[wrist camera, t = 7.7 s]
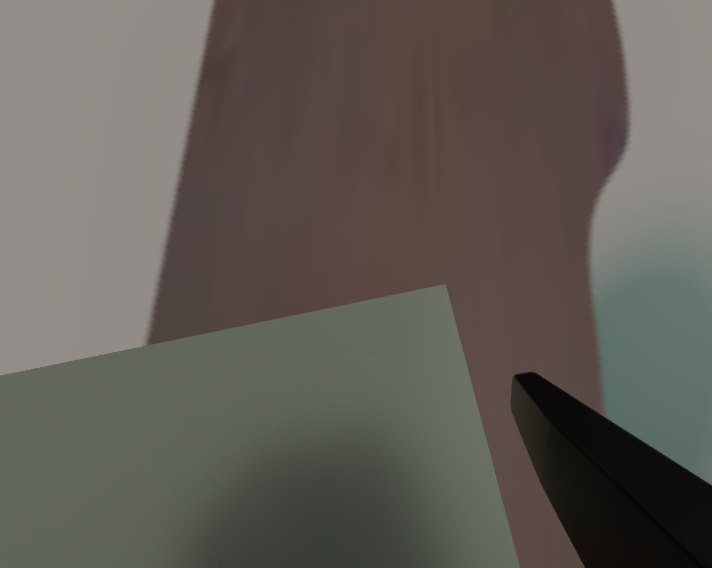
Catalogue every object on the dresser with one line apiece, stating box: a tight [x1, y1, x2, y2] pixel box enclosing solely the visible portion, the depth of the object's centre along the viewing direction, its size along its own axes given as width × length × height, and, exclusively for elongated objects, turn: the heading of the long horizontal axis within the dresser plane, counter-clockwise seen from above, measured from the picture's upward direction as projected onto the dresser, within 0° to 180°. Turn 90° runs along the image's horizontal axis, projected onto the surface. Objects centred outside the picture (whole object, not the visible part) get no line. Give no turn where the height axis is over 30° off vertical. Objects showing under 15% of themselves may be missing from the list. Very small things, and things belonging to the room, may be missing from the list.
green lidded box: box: [0, 284, 520, 568], centre depth 10 cm, size 6×6×12 cm
